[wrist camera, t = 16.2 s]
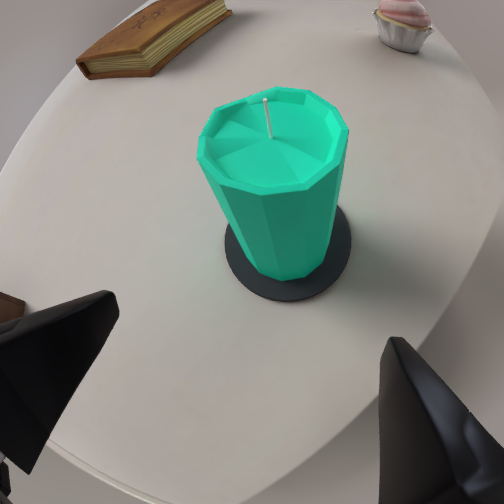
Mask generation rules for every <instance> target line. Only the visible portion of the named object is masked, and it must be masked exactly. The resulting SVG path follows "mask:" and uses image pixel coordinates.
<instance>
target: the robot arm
mask: <svg viewBox="0 0 504 504" xmlns="http://www.w3.org/2000/svg"><path fill="white" fill-rule="evenodd" d="M118 318H119V308H118V304H117V300H116V296H115V294H114V293H113V292H111V291H107V290H102V291H99V292H96V293H93V294H89V295H86V296H83V297H80V298H77V299H74V300H71V301H68V302H65V303H62V304H59V305H56V306H53V307H50V308H47V309H44V310H41V311H38V312H35V313H32V314H29V315H26V316H23V317H20V318H17V319H14V320H11V321H8V322H5V323H2V324H0V504H13V503H11V501H10V500H9V499H8V498H7V497H8V495H9V494H10V492H11V487H10V479H9V469H8V466H7V464H6V463H4V461H3V460H4V459H5V457H7V458H8V459H10V460H11V461H12V462H13V463H14V464H15V465H17V466H18V467H19V468H20V469H22V470H23V471H24V472H25V473H27V474H28V475H29V474H30V473H31V471H32V469H33V467H34V465H35V463H36V461H37V459H38V457H39V455H40V453H41V451H42V449H43V447H44V445H45V444H46V442H47V440H48V438H49V436H50V434H51V432H52V430H53V429H54V427H55V425H56V423H57V421H58V420H59V418H60V416H61V414H62V413H63V411H64V409H65V407H66V406H67V404H68V402H69V401H70V399H71V397H72V396H73V394H74V392H75V391H76V389H77V387H78V386H79V384H80V382H81V381H82V379H83V378H84V376H85V374H86V373H87V371H88V370H89V368H90V367H91V365H92V363H93V362H94V360H95V359H96V357H97V356H98V354H99V353H100V351H101V349H102V347H103V346H104V344H105V342H106V340H107V338H108V336H109V334H110V332H111V331H112V329H113V327H114V325H115V323H116V321H117V320H118ZM378 408H379V431H380V432H379V433H380V483H379V504H504V448H503V447H502V446H501V445H500V444H499V443H498V442H497V441H496V440H495V439H494V438H493V437H492V436H491V435H490V434H489V433H488V432H487V431H486V430H485V428H484V427H483V426H482V425H481V424H480V422H479V421H478V420H477V419H476V418H475V417H474V415H473V414H472V413H471V412H469V410H468V409H467V407H466V406H465V405H464V404H463V403H462V402H461V400H460V399H459V398H458V397H457V396H456V395H455V394H454V392H453V391H452V390H451V389H450V388H449V387H448V386H447V385H446V383H445V382H444V381H443V380H442V379H441V378H440V377H439V376H438V375H437V373H436V372H435V371H434V370H433V369H432V368H431V367H430V366H429V365H428V364H427V362H426V361H425V360H424V359H423V358H422V357H421V356H420V355H419V354H418V353H417V352H416V351H415V350H414V349H413V347H412V346H411V345H410V344H409V343H408V342H407V341H406V340H405V339H404V338H402V337H390V338H389V339H388V341H387V344H386V346H385V349H384V351H383V354H382V356H381V360H380V384H379V407H378Z"/></svg>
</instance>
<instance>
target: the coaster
mask: <svg viewBox="0 0 504 504" xmlns="http://www.w3.org/2000/svg"><path fill="white" fill-rule="evenodd" d="M350 249H351V234H350V229H349V225H348V222H347V220H346V218H345V216H344V214H343V212H342V211H341V209H340V208H339V207H338V206H337V207H336V212H335V218H334V222H333V227H332V232H331V237H330V242H329V245H328V248H327V251H326V254H325V257H324V260H323V262H322V264H320V265H319V266H318V267H317V268H316V269H314V270H313V271H312V272H311V273H310V274H308V275H307V276H306V277H304V278H298V279H292V280H286V281H279V280H277V279H274V278H271V277H268V276H265V275H263V274H260V273H259V272H258V270H257V269H256V268H255V267H254V266H253V264H252V263H251V262H250V261H249V259H248V258H247V257H246V255H245V253H244V251H243V249H242V247H241V245H240V243H239V241H238V239H237V237H236V235H235V233H234V231H233V230H232V228H231V226H230V224H229V223H228V226H227V229H226V234H225V253H226V258H227V261H228V263H229V266H230V268H231V270H232V271H233V273H234V275H235V276H236V277H237V279H238V280H239V281H240V282H241V283H242V284H243V285H244V286H245V287H246V288H248V289H249V290H250V291H252V292H254V293H255V294H257V295H259V296H261V297H264V298H267V299H270V300H275V301H283V302H290V301H299V300H304V299H307V298H310V297H313V296H315V295H317V294H319V293H321V292H322V291H324V290H326V289H327V288H328V287H329V286H331V285H332V284H333V283H334V282H335V281H336V279H337V278H338V277H339V276H340V274H341V273H342V271H343V270H344V268H345V265H346V263H347V261H348V258H349V255H350Z"/></svg>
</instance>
